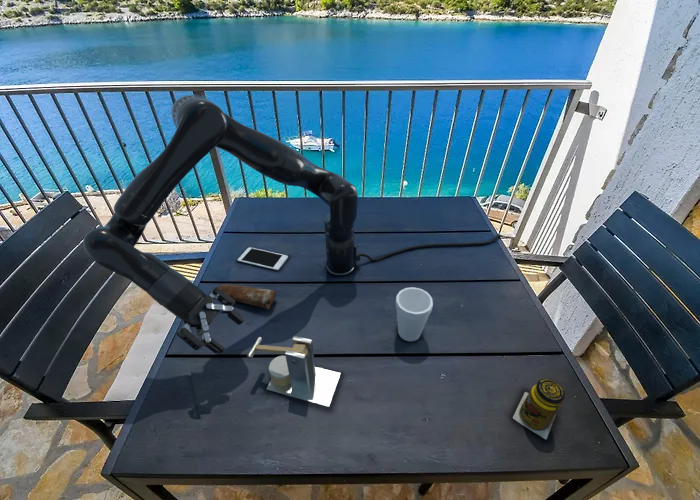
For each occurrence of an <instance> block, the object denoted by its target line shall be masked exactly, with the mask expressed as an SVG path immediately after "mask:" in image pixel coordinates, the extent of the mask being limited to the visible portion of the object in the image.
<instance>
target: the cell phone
mask: <svg viewBox="0 0 700 500" xmlns="http://www.w3.org/2000/svg"><path fill="white" fill-rule="evenodd" d="M288 259H289V256H288V255H287V254H282V253H276V252H274V251H268V250H265V249H260V248H255V247H251V246H250V247H248V248H246V249H245V250H244V252H243V253H242V254H241V255H240V256H239V257H238V258H237V262H240V263H244V264H248V265H253V266H257V267H261V268H265V269H270V270H273V271H279V270H280V269H281V268H282V267H283V265H284V264H285V262H286V261H287V260H288Z"/></svg>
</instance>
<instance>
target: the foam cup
mask: <svg viewBox="0 0 700 500" xmlns="http://www.w3.org/2000/svg"><path fill="white" fill-rule="evenodd" d="M395 297H396V298H395V309H396V320H397V333H398V335H399V337H400V338H401V339H402V340H404V341H407V342H415V341H417V340H419V338H420V337H421V335H422V333H423V331H424V328H425V326H426V323H427V322H428V319H429V316H430V314H431V313H432V311H433V307H434V306H433V305H434V299H433V297H432V296H431V295H430V293H429V292H428V291H426V290H424V289H422V288H419V287H415V286H413V287H405V288H403V289H401V290H399V292H398V293H397V294H396V296H395Z"/></svg>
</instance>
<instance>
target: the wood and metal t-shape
mask: <svg viewBox="0 0 700 500" xmlns="http://www.w3.org/2000/svg"><path fill="white" fill-rule="evenodd" d="M262 341H263V337H261V336H258V337H257V339H256V340H255V341H254V343H253V345H252V347H251V349H250V350H249V352H248V353H247V355H246V358H247V359H250V360H252V358H253V357H254V355H255V353H256V352H263V353H275V354H284V355H285V353H286V351H287V350H288V351H292V352H296V353H300V354H304V355H306V356H307V353H308V350H307V348H306V346H305V345H302V344H294V346H292V347H291V346H289V347H288V346H276V345H265V344H261V343H262Z"/></svg>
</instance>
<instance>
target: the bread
mask: <svg viewBox="0 0 700 500" xmlns="http://www.w3.org/2000/svg"><path fill="white" fill-rule="evenodd" d="M217 288H219V289H220V290H221V291H223V292H224V293H226V294H227V295H228V296H230V297H231V298H232V299H234V300H235V302H238V303H241V304H247V305H250V306H253V307H257V308H261V309H265V310H270V309H271V305H273V303H274V301H275V300H276V299H275V298H276V296H277V290H274V289H268V288H261V287H253V286H245V285H234V284H223V283H222V284H220V285H219V286H217Z"/></svg>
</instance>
